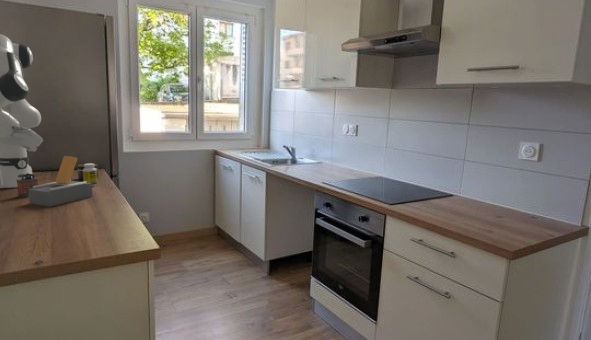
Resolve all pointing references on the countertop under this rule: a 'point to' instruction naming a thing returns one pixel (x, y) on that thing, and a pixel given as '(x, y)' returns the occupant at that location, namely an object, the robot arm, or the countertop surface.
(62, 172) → the lever
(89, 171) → the pill bottle
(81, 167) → the jar
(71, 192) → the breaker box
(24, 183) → the lighter
